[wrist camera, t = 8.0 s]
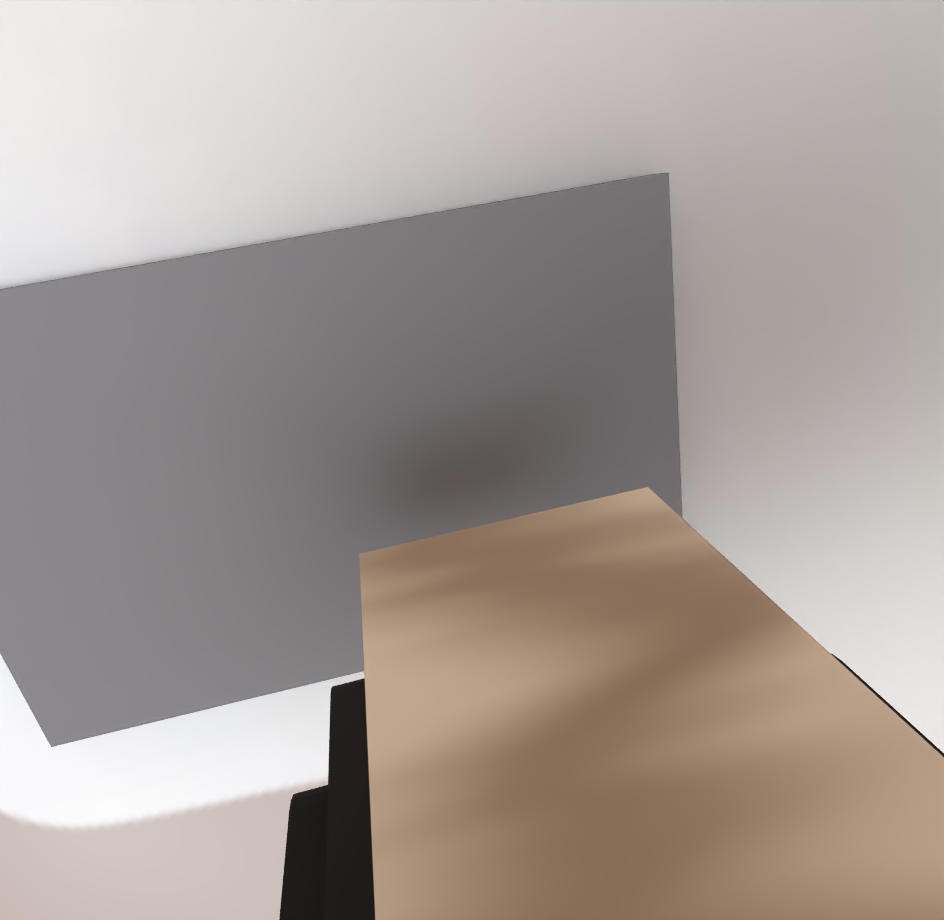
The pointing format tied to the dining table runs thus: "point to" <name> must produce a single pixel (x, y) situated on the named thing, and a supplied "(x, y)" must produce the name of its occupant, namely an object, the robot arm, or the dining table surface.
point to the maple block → (626, 736)
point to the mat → (310, 435)
